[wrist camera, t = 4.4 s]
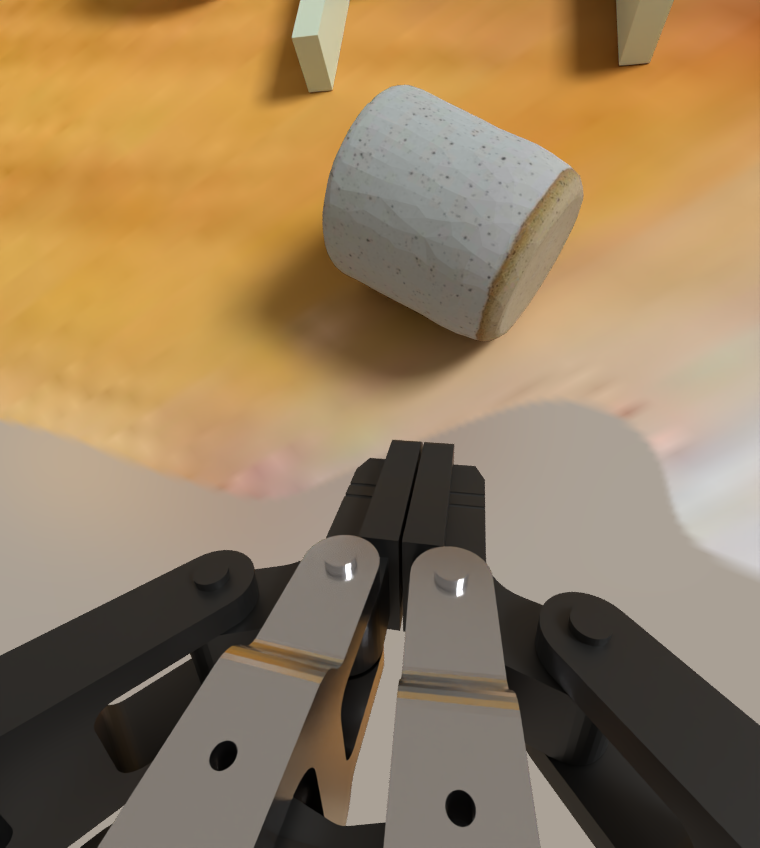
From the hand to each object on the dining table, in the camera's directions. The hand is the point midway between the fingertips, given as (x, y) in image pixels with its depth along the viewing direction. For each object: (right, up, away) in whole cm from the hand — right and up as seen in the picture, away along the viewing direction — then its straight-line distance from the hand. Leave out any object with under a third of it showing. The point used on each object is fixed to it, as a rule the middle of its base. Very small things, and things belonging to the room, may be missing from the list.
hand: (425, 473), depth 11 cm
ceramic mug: (+3, +10, +11) cm, 15 cm away
